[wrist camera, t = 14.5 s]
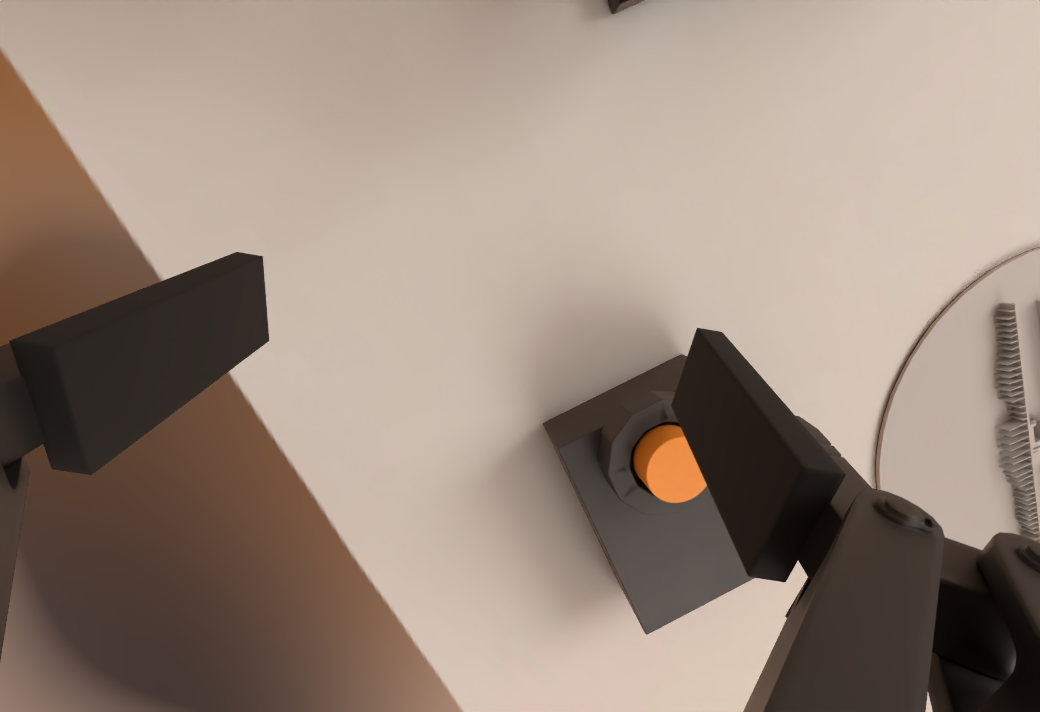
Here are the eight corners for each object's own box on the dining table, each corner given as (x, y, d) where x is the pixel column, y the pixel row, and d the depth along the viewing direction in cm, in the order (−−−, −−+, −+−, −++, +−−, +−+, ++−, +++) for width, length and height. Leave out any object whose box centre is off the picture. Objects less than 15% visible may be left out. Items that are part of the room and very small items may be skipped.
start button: (623, 443, 25) (635, 457, 24) (683, 413, 25) (700, 424, 24) (646, 498, 26) (660, 515, 24) (704, 468, 26) (723, 483, 25)
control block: (537, 413, 30) (559, 450, 24) (678, 343, 31) (732, 364, 25) (622, 589, 34) (658, 659, 28) (746, 525, 34) (807, 580, 29)
